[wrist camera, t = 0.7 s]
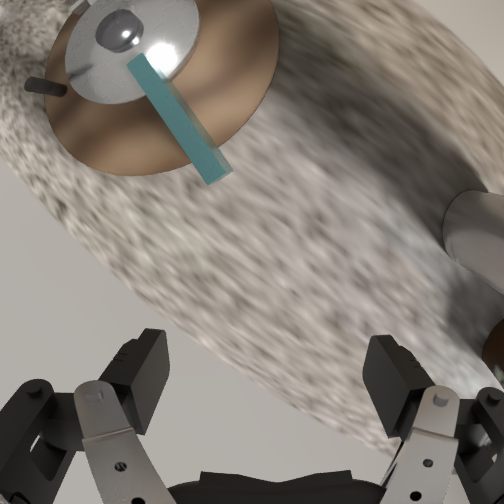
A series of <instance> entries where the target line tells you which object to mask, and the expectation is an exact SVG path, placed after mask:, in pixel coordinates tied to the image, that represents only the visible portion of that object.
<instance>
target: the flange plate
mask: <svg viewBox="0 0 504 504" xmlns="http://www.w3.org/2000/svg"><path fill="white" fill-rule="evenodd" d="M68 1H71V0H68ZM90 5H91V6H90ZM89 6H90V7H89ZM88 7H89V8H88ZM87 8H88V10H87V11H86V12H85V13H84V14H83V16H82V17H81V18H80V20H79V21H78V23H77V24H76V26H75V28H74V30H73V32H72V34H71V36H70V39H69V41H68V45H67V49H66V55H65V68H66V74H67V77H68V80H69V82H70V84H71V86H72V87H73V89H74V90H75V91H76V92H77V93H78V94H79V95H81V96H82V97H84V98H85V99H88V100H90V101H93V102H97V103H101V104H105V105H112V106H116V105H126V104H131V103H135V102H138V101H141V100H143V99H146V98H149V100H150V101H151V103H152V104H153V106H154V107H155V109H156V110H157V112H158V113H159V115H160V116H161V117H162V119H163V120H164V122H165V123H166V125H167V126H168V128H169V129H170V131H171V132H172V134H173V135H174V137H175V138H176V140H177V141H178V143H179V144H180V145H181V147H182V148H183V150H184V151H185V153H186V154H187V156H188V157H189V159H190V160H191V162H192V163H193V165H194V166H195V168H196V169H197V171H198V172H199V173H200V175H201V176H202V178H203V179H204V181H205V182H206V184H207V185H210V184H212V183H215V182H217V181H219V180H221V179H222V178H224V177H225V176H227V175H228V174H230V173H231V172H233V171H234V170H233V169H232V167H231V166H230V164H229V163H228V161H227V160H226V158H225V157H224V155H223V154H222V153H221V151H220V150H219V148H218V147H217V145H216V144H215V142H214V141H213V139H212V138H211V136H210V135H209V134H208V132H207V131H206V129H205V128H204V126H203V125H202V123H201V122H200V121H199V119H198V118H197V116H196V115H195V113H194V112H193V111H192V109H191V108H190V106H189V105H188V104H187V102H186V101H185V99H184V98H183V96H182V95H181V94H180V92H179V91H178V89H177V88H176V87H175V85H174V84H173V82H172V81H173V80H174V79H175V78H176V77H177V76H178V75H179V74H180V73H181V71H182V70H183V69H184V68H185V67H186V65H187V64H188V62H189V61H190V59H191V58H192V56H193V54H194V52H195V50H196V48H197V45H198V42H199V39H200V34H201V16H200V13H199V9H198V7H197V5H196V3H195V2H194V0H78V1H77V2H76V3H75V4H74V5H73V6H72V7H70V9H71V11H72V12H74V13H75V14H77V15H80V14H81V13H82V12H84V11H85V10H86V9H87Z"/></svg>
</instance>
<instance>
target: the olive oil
mask: <svg viewBox="0 0 504 504" xmlns="http://www.w3.org/2000/svg"><path fill="white" fill-rule="evenodd" d="M483 361H484V363H485V364H486V365H487V367H488V368H489V369H490V370H491V372H492V373H493V374H494V376H495V377H496V379H497V380H498V381H499V383H500V384H501V386H502V387H503V389H504V320H503V321H501V322H500V323H499V324H498V325H497V326H496V327H495V328H494V330H493V331H492V332H491V334H490V336H489V337H488V339H487V341H486V343H485V346H484V349H483Z"/></svg>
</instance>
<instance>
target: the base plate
mask: <svg viewBox="0 0 504 504" xmlns="http://www.w3.org/2000/svg"><path fill="white" fill-rule="evenodd" d="M194 2H195V3H196V5H197V7H198V9H199V13H200V16H201V34H200V39H199V42H198V45H197V48H196V50H195V52H194V54H193V56H192V58H191V59H190V61H189V62H188V64H187V65H186V67H185V68H184V69H183V70H182V71H181V73H180V74H179V75H178V76H177V77H176V78H175V79H174V80H173V81H172V82H173V84H174V85H175V87H176V88H177V89H178V91H179V92H180V94H181V95H182V96H183V98H184V99H185V101H186V102H187V104H188V105H189V106H190V108H191V109H192V111H193V112H194V113H195V115H196V116H197V118H198V119H199V121H200V122H201V123H202V125H203V126H204V128H205V129H206V131H207V132H208V134H209V135H210V136H211V138H212V139H213V141H214V142H215V144H216V145H217V147H219V146H221V145H222V144H223V143H225V142H226V141H227V140H228V139H230V138H231V137H232V136H233V135H234V134H235V133H236V132H237V131H238V130H239V129H240V128H241V127H242V126H243V125H244V124H245V123H246V122H247V121H248V119H249V118H250V117H251V116H252V114H253V113H254V112H255V111H256V109H257V108H258V106H259V104H260V103H261V101H262V100H263V98H264V97H265V94H266V92H267V90H268V88H269V86H270V84H271V82H272V79H273V75H274V72H275V69H276V66H277V59H278V52H279V27H278V22H277V17H276V14H275V11H274V8H273V6H272V3H271V1H270V0H194ZM90 6H91V5H90ZM90 6H89V7H90ZM89 7H88V8H89ZM88 8H87V9H86V10H85V11H84V12H82V13H81V14H80V15H77V14H75V13H74V12H72V14H71V15H70V16H69V18H68V19H67V20H66V22H65V24H64V25H63V27H62V29H61V30H60V32H59V34H58V36H57V38H56V40H55V42H54V44H53V47H52V50H51V53H50V55H49V59H48V63H47V67H46V72H45V79H40V78H36V77H29V78H28V79H27V80H26V82H25V90H26V91H29V92H35V93H40V94H44V99H45V107H46V112H47V116H48V119H49V122H50V125H51V127H52V129H53V132H54V133H55V135H56V137H57V138H58V140H59V141H60V143H61V144H62V145H63V146H64V148H65V149H66V150H67V151H68V152H69V153H70V154H71V155H72V156H74V157H75V158H76V159H77V160H78V161H80V162H82V163H83V164H85V165H87V166H88V167H91V168H93V169H96V170H98V171H101V172H104V173H109V174H113V175H121V176H142V175H151V174H156V173H162V172H167V171H170V170H173V169H177V168H180V167H183V166H185V165H188V164H190V163H192V162H191V160H190V159H189V157H188V156H187V154H186V153H185V151H184V150H183V148H182V147H181V145H180V144H179V143H178V141H177V140H176V138H175V137H174V135H173V134H172V132H171V131H170V129H169V128H168V126H167V125H166V123H165V122H164V120H163V119H162V117H161V116H160V115H159V113H158V112H157V110H156V109H155V107H154V106H153V104H152V103H151V101H150V100H149V98H146V99H143V100H141V101H138V102H135V103H131V104H126V105H116V106H112V105H105V104H101V103H97V102H93V101H90V100H88V99H85V98H84V97H82V96H81V95H79V94H78V93H77V92H76V91H75V90H74V89H73V87H72V86H71V84H70V82H69V80H68V77H67V74H66V68H65V55H66V49H67V45H68V41H69V39H70V36H71V34H72V32H73V30H74V28H75V26H76V24H77V23H78V21H79V20H80V18H81V17H82V16H83V14H84V13H85V12H86V11H87V10H88Z"/></svg>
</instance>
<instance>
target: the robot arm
mask: <svg viewBox="0 0 504 504" xmlns="http://www.w3.org/2000/svg"><path fill="white" fill-rule="evenodd" d="M442 235H443V243H444V246H445V249H446V251H447V253H448V255H449V256H450V257H451V258H452V259H453V260H454V261H455V262H457V263H458V264H460V265H461V266H463V267H464V268H466V269H467V270H469V271H470V272H471V273H473V274H474V275H476V276H477V277H479V278H480V279H481V280H483V281H484V282H486V283H487V284H489V285H490V286H491V287H493V288H494V289H496V290H497V291H498V292H500V293H501V294H502V295H504V196H503V195H499V194H495V193H491V192H489V193H484V192H480V191H475V190H469V191H465V192H463V193H461V194H460V195H458V196H457V197H456V198H455V199H454V200H453V202H452V203H451V204H450V206H449V208H448V210H447V212H446V215H445V218H444V223H443V233H442ZM169 370H170V363H169V354H168V347H167V339H166V332H165V331H164V330H159V329H148V328H146V329H144V331H143V332H142V334H141V335H140V337H139V338H138V339H132V340H130V341H129V342H127V343H125V344H124V345H123V346H122V347H121V348H120V350H119V351H118V353H117V354H116V355H115V357H114V358H113V360H112V361H111V362H110V364H109V365H108V366H107V368H106V369H105V371H104V372H103V373H102V375H101V376H100V378H99V379H98V380H93V381H88V382H85V383H83V384H81V385H80V386H78V387H77V388H76V390H75V392H74V393H55V392H54V390H53V388H52V385H51V384H50V383H49V382H48V381H46V380H43V379H33V380H30V381H27V382H25V383H24V384H22V385H21V386H20V387H19V389H18V390H17V391H16V392H15V393H14V395H13V396H12V397H11V398H10V400H9V401H8V402H7V403H6V404H5V406H4V407H3V409H1V411H0V504H53V501H54V499H55V497H56V495H57V492H58V490H59V488H60V486H61V483H62V481H63V479H64V477H65V474H66V472H67V470H68V468H69V466H70V464H71V461H72V459H73V457H74V455H75V453H76V451H85V453H86V457H87V460H88V463H89V466H90V469H91V471H92V474H93V477H94V480H95V482H96V485H97V488H98V491H99V493H100V495H101V498H102V501H103V503H104V504H443V500H444V497H445V494H446V491H447V487H448V484H449V480H450V476H451V473H452V469H453V465H454V467H455V469H456V472H457V474H458V476H459V478H460V481H461V483H462V485H463V488H464V490H465V492H466V495H467V497H468V500H469V502H470V504H504V393H503V392H502V391H501V390H499V389H496V388H493V387H485V388H483V389H481V390H480V391H479V392H478V394H477V396H476V398H475V399H459V397H458V395H457V394H456V392H454V391H453V390H452V389H450V388H448V387H445V386H439V385H438V386H436V385H435V384H434V382H433V381H432V379H431V378H430V377H429V375H428V374H427V373H426V371H425V370H424V369H423V367H421V365H420V363H419V362H418V361H417V359H416V358H415V357H414V355H413V354H412V353H411V352H410V351H409V350H407V349H406V348H404V347H403V346H399V345H398V344H397V342H396V341H395V340H394V338H393V337H392V336H391V335H374V336H372V337H371V339H370V342H369V346H368V350H367V354H366V358H365V362H364V366H363V381H364V384H365V386H366V388H367V390H368V393H369V395H370V397H371V399H372V402H373V404H374V406H375V408H376V411H377V413H378V415H379V418H380V420H381V422H382V424H383V427H384V429H385V432H386V434H387V436H388V439H389V438H394V437H399V436H400V438H401V442H400V444H399V445H398V448H397V450H396V452H395V454H394V456H393V459H392V461H391V463H390V465H389V467H388V469H387V471H386V473H385V475H384V477H383V479H382V481H381V483H380V484H379V485H378V484H375V483H372V482H368V481H363V480H357V479H352V475H351V471H350V470H345V471H337V472H327V473H316V474H312V475H308V476H304V477H301V478H297V479H293V480H289V481H284V482H270V481H265V480H260V479H256V478H251V477H247V476H243V475H239V474H224V473H212V472H203V471H201V474H200V480H199V481H192V482H186V483H182V484H178V485H175V486H172V487H169V488H166V487H165V485H164V483H163V482H162V480H161V478H160V477H159V475H158V473H157V472H156V470H155V468H154V466H153V465H152V463H151V461H150V459H149V457H148V456H147V454H146V452H145V450H144V448H143V446H142V444H141V442H140V441H139V439H138V437H137V435H136V434H140V435H145V433H146V431H147V428H148V426H149V423H150V420H151V418H152V416H153V413H154V411H155V408H156V406H157V403H158V401H159V399H160V396H161V393H162V391H163V389H164V386H165V384H166V381H167V379H168V376H169ZM38 435H39V436H40V438H39V439H38V441H37V443H36V444H35V446H34V447H33V449H32V451H31V452H30V449H31V446H32V444H33V443H34V441H35V439H36V438H37V436H38ZM488 437H489V438H490V440H491V441H492V443H493V445H494V446H495V448H496V450H497V459H496V461H495V463H494V462H493V460H492V458H491V456H490V455H489V453H488V451H487V449H486V447H485V446H484V443H485V442H486V440H487V439H488Z"/></svg>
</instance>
